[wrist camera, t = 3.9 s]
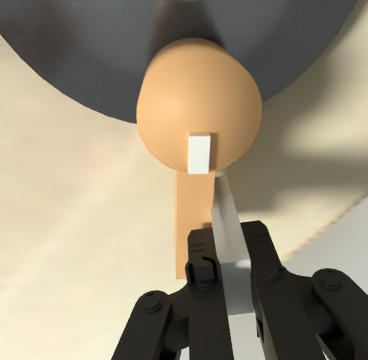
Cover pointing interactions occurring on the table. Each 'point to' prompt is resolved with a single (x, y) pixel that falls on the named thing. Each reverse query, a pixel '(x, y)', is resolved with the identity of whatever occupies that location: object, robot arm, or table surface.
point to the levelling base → (163, 41)
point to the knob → (196, 125)
